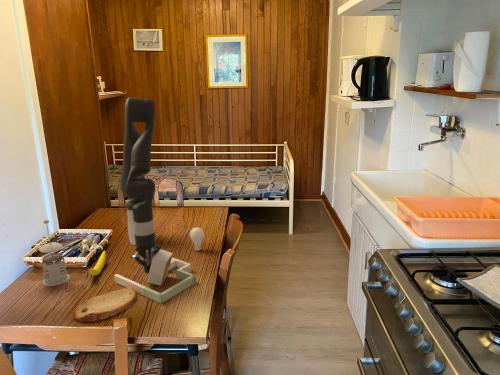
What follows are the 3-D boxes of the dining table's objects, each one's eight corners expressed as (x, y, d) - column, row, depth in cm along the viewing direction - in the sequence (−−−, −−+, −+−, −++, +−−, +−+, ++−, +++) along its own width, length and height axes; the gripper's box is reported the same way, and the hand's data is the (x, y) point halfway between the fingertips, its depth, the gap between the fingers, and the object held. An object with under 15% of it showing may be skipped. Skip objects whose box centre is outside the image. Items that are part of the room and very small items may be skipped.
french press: (42, 288, 144) (30, 226, 137) (42, 275, 154) (31, 216, 147) (70, 282, 148) (60, 221, 141) (69, 269, 158) (59, 212, 151)
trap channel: (115, 282, 147) (114, 275, 146) (160, 259, 165) (160, 253, 164) (161, 303, 133) (160, 295, 132) (205, 276, 151) (205, 269, 150)
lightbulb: (207, 248, 175) (205, 226, 172) (201, 254, 170) (199, 231, 167) (194, 246, 177) (193, 224, 174) (188, 252, 172) (186, 229, 169)
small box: (160, 286, 144) (166, 262, 140) (146, 281, 144) (152, 257, 141) (167, 276, 151) (173, 253, 148) (154, 271, 151) (160, 248, 148)
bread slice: (140, 292, 140) (139, 283, 139) (124, 323, 123) (123, 312, 122) (91, 293, 140) (90, 284, 139) (69, 323, 123) (67, 313, 122)
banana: (109, 260, 165) (107, 247, 163) (94, 283, 147) (92, 268, 145) (102, 261, 165) (101, 247, 163) (87, 283, 147) (84, 268, 145)
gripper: (151, 223, 150) (155, 263, 155) (123, 234, 140) (128, 277, 145) (164, 227, 146) (168, 268, 151) (136, 239, 136) (141, 282, 140)
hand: (148, 272), depth 148 cm, fingers closed
